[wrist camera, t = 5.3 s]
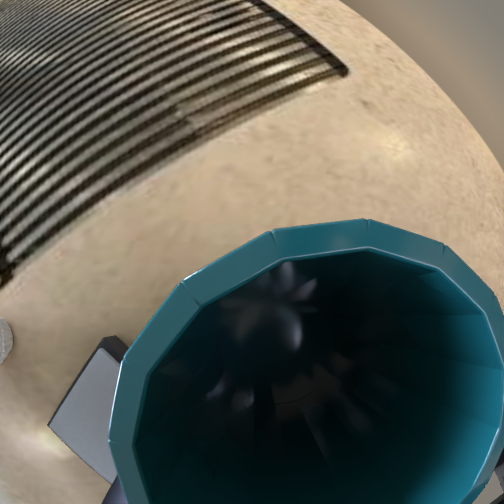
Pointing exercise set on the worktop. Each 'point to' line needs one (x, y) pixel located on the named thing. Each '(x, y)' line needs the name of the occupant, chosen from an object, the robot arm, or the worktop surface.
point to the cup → (316, 376)
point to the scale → (91, 408)
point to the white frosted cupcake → (5, 340)
